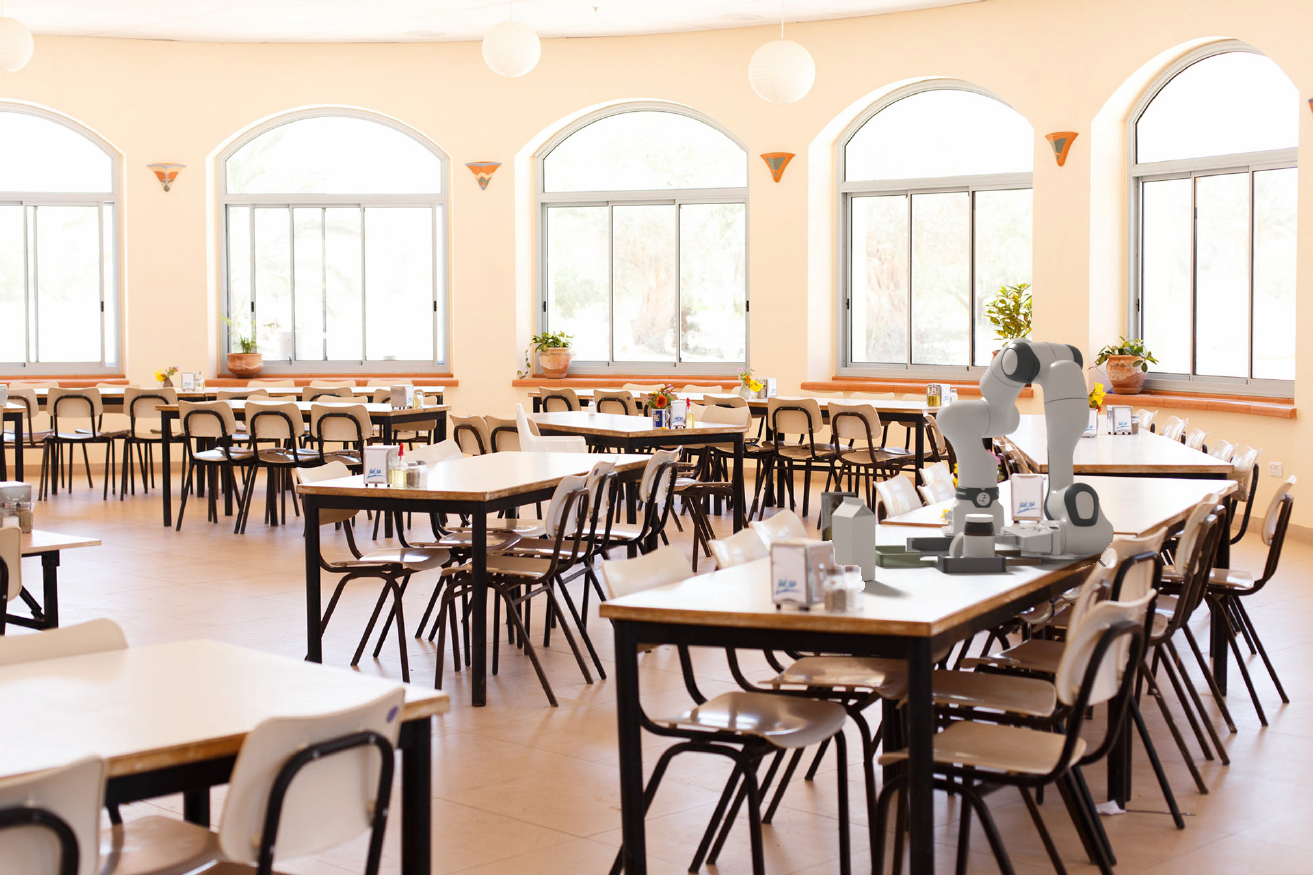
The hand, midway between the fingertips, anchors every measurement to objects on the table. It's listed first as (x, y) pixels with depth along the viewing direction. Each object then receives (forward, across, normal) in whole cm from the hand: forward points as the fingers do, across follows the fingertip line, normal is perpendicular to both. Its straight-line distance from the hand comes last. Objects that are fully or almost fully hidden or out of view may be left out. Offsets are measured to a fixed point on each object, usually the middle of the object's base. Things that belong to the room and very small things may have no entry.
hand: (993, 538), depth 331 cm
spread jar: (+6, +1, +6) cm, 8 cm away
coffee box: (+37, -14, +6) cm, 40 cm away
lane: (+11, 0, +5) cm, 12 cm away
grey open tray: (+10, -14, +6) cm, 18 cm away
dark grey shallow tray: (+10, +14, +5) cm, 18 cm away
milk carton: (+41, +26, +6) cm, 49 cm away
